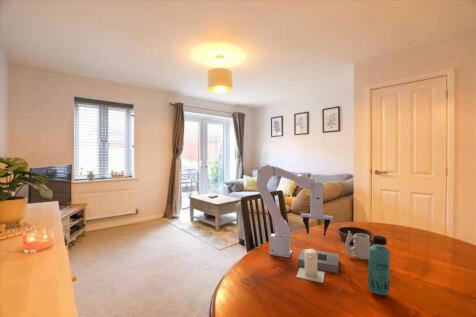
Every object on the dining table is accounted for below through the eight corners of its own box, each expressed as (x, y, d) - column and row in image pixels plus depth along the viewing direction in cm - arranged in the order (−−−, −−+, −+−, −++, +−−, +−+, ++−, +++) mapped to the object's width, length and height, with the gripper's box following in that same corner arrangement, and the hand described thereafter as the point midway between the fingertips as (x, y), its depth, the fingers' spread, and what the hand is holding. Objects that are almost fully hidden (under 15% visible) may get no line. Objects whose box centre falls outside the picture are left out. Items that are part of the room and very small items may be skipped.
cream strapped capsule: (305, 269, 100) (305, 247, 100) (318, 271, 98) (318, 249, 97) (302, 277, 93) (302, 254, 93) (316, 280, 91) (316, 257, 91)
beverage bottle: (363, 289, 86) (364, 233, 85) (381, 288, 86) (382, 233, 86) (375, 300, 79) (376, 240, 79) (394, 299, 80) (395, 239, 79)
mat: (296, 277, 94) (296, 276, 94) (299, 268, 101) (299, 267, 101) (323, 283, 90) (323, 281, 90) (324, 273, 97) (324, 272, 97)
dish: (352, 232, 147) (352, 223, 147) (384, 245, 126) (384, 235, 126) (328, 235, 141) (328, 227, 141) (358, 249, 120) (358, 240, 120)
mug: (374, 259, 109) (374, 233, 109) (349, 260, 108) (349, 234, 108) (364, 252, 117) (365, 228, 116) (341, 253, 116) (341, 228, 116)
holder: (297, 265, 104) (297, 259, 103) (302, 254, 115) (302, 248, 114) (338, 273, 97) (338, 265, 97) (338, 260, 108) (338, 254, 108)
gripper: (299, 206, 114) (299, 234, 115) (332, 209, 109) (332, 239, 109) (301, 203, 121) (301, 230, 121) (332, 206, 115) (332, 234, 116)
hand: (316, 234), depth 116 cm, fingers open, 7 cm apart
